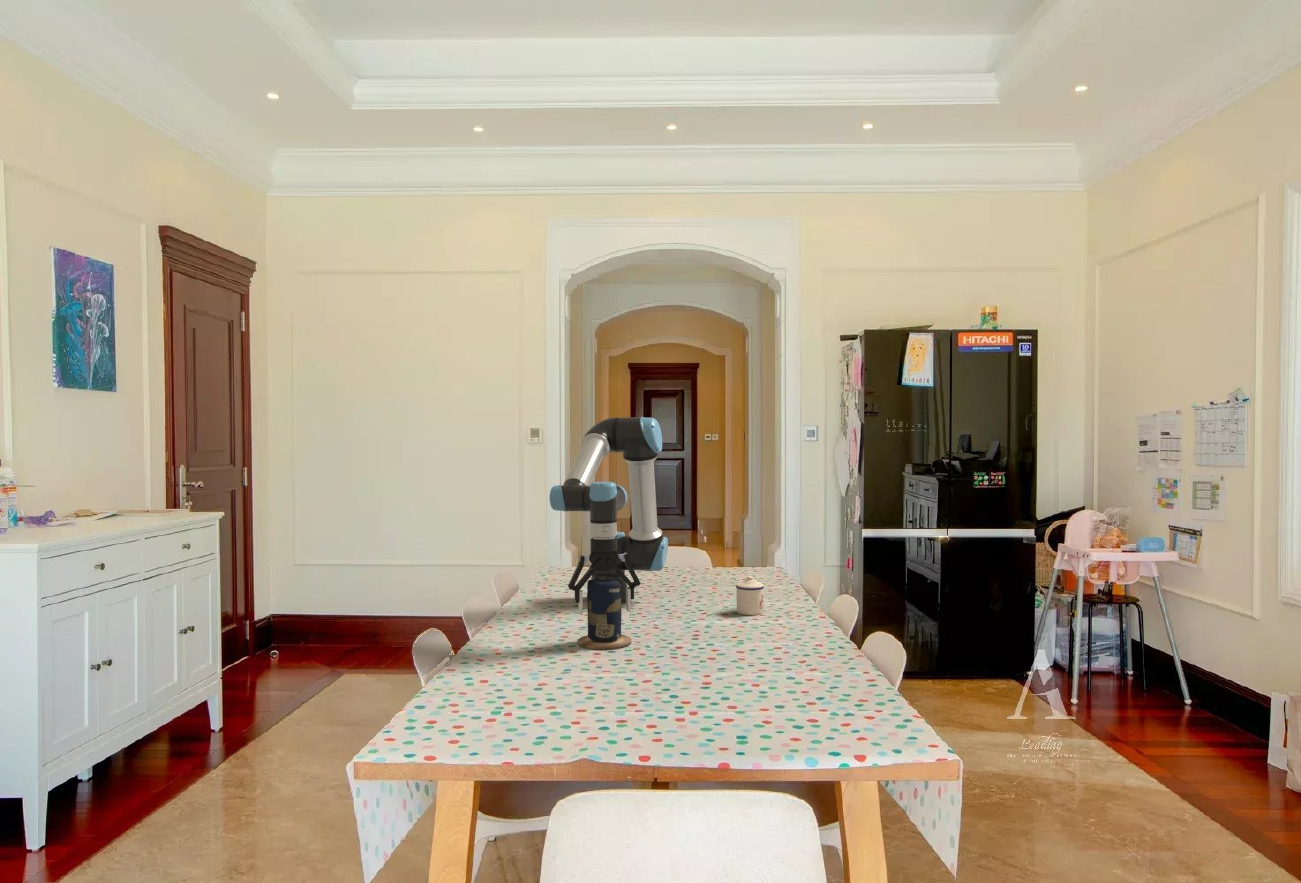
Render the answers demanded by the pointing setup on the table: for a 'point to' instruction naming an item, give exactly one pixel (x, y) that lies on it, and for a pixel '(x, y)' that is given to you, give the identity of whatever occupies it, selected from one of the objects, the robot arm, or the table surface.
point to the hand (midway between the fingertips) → (604, 612)
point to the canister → (604, 609)
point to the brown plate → (604, 643)
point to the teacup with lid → (749, 597)
